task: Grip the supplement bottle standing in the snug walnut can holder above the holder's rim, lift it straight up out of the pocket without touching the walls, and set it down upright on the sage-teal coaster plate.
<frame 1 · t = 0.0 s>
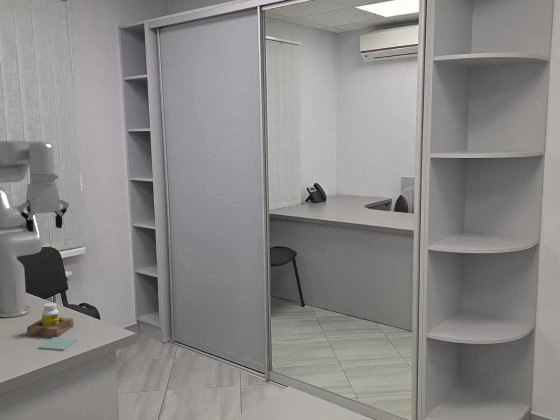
hand: (44, 229, 187), 37 cm above the table, tool pointing down, fingers open, 9 cm apart
coaster plate: (58, 344, 183), on the table
supplement bottle: (51, 331, 195), resting in can holder
can holder: (51, 330, 195), on the table
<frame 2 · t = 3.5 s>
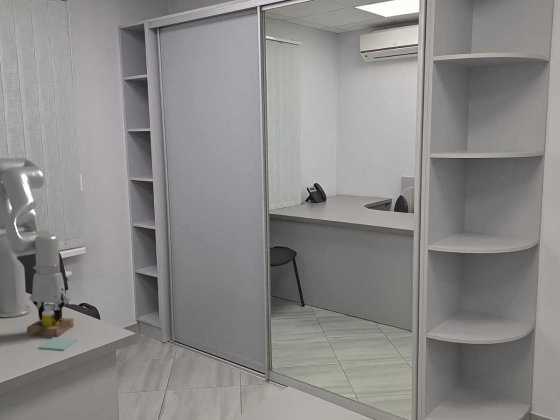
hand: (50, 318, 195), 5 cm above the table, tool pointing down, fingers closed on supplement bottle, 5 cm apart
supplement bottle: (51, 331, 195), resting in can holder, touching gripper
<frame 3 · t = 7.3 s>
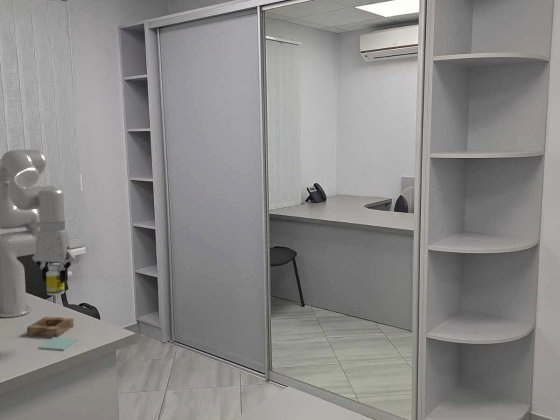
hand: (55, 280, 181), 22 cm above the table, tool pointing down, fingers closed on supplement bottle, 5 cm apart
supplement bottle: (56, 294, 181), point 17 cm above the table, touching gripper
when the fingers open (6 cm above the table, at t = 11.1 s): supplement bottle drops 1 cm, resting on coaster plate.
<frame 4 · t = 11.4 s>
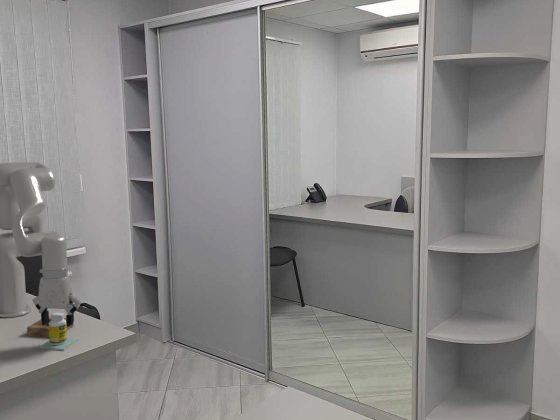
hand: (57, 324, 182), 7 cm above the table, tool pointing down, fingers open, 8 cm apart
supplement bottle: (58, 343, 183), resting on coaster plate
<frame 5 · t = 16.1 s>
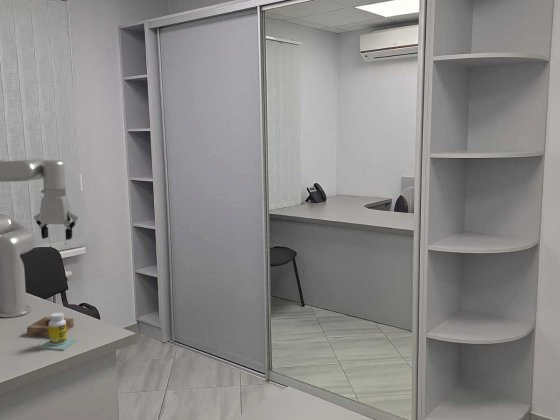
hand: (57, 238, 207), 30 cm above the table, tool pointing down, fingers open, 9 cm apart
nothing on the table moved.
at the end: supplement bottle 0.4 cm off-centre on the coaster plate, point 0.3 cm above the coaster plate's base; supplement bottle tilted 0°; the gripper is holding nothing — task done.
